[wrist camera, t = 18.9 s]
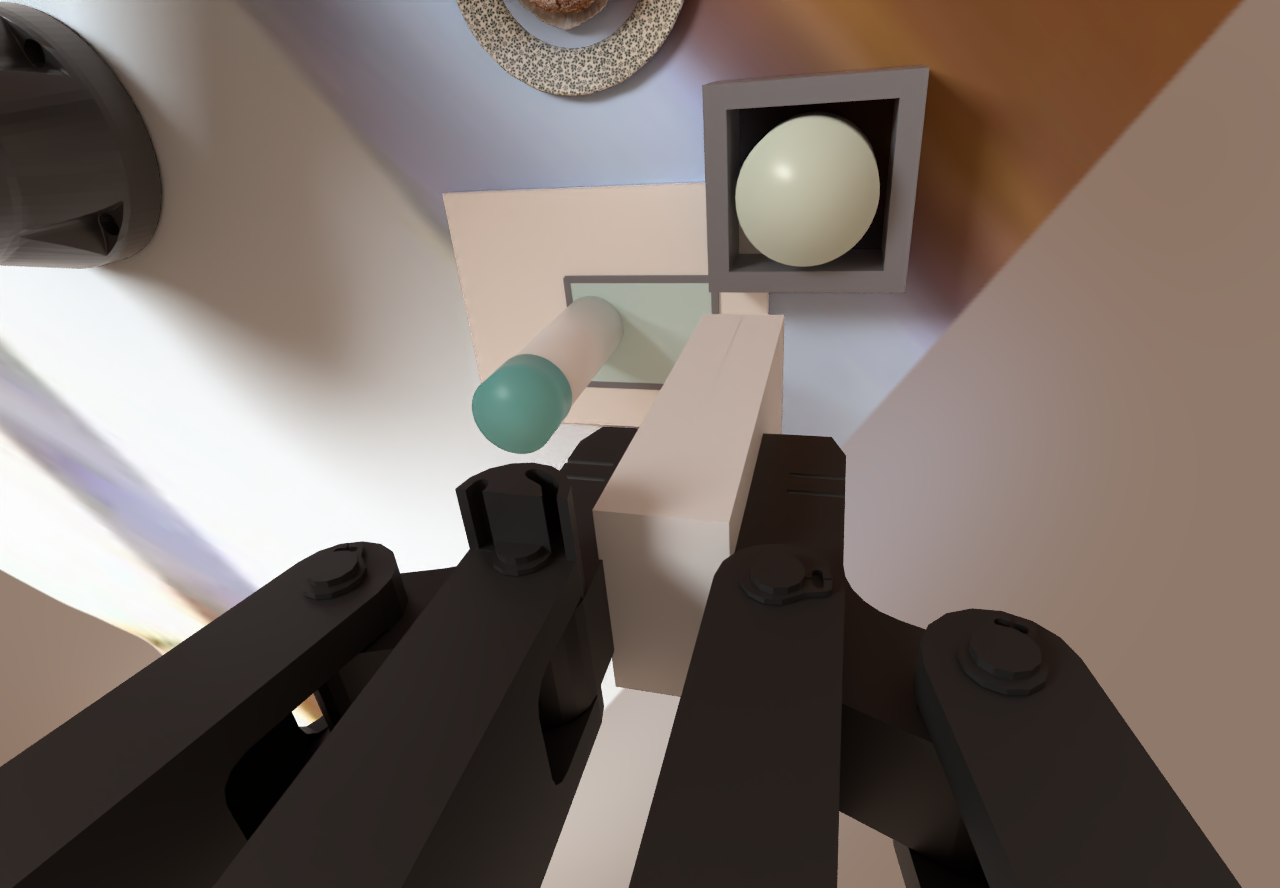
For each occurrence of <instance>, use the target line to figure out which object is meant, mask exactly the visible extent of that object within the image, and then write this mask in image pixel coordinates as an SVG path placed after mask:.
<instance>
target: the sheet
mask: <svg viewBox="0 0 1280 888" xmlns="http://www.w3.org/2000/svg"><path fill="white" fill-rule="evenodd" d="M442 195H443V200H444V205H445V210H446V215H447V220H448V225H449V230H450V234H451V239H452V244H453V249H454V254H455V259H456V264H457V268H458V273H459V278H460V283H461V288H462V293H463V298H464V302H465V307H466V312H467V317H468V322H469V327H470V332H471V337H472V341H473V346H474V351H475V356H476V361H477V366H478V371H479V375H480V380H481V384H482V383H483V382H484V381H485V380H486V379H487V378H488V377H489V376H490V375H492V374H493V373H494V372H495V371H496V370H497V369H498V368H499V367H500V366H501V365H502V364H503V363H505V362H506V361H507V360H508V359H510V358H512V357H514V356H515V355H516V354H518V353H519V352H520V351H521V350H522V349H523V348H524V347H525V346H526V345H527V344H528V343H529V342H530V341H532V340H533V339H534V338H535V337H536V336H537V335H538V334H539V333H540V332H541V331H542V330H543V329H544V328H546V327H547V326H548V325H549V324H550V323H551V322H552V321H553V320H554V319H555V318H556V317H557V316H558V315H560V314H561V313H562V312H563V311H564V310H565V309H566V308H567V307H568V306H569V305H570V304H571V303H573V302H574V301H575V300H577V299H578V298H581V297H585V296H596V297H600V298H602V299H605V300H606V301H608V302H609V303H611V304H612V305H613V306H614V307H615V308H616V309H617V311H618V312H619V314H620V316H621V318H622V321H623V327H624V332H623V338H622V340H621V342H620V344H619V345H618V347H617V348H616V349H615V351H614V352H613V353H612V355H611V356H610V357H609V358H608V360H607V361H606V362H605V364H604V365H603V366H602V368H601V369H600V370H599V371H598V373H597V374H596V375H595V377H594V378H593V379H592V381H591V382H590V383H589V384H588V386H587V387H586V388H585V390H584V391H583V392H582V393H581V395H580V396H579V397H578V399H577V400H576V401H575V403H574V404H573V405H572V406H571V409H570V411H569V413H568V415H567V416H566V418H565V419H564V420H563V423H580V424H598V425H616V426H634V427H640V425H641V423H642V422H643V420H644V418H645V416H646V415H647V413H648V411H649V409H650V408H651V406H652V404H653V402H654V401H655V399H656V397H657V395H658V393H659V392H660V390H661V388H662V386H663V385H664V383H665V381H666V379H667V378H668V376H669V374H670V372H671V371H672V369H673V367H674V365H675V363H676V362H677V360H678V358H679V356H680V355H681V353H682V351H683V349H684V348H685V346H686V344H687V342H688V341H689V339H690V337H691V335H692V333H693V332H694V330H695V328H696V326H697V325H698V323H699V321H700V319H701V318H702V316H703V314H748V315H769V293H735V292H709V283H708V250H707V218H706V185H705V182H693V183H669V184H644V185H619V186H595V187H570V188H545V189H521V190H496V191H471V192H447V193H445V194H442ZM739 254H762V253H761V252H760V251H759V250H758V249H756V248H755V247H754V245H753V244H752V243H751V242H750V241H749V239H748V238H747V236H746V235H745V233H744V231H743V229H742V227H741V225H740V222H739Z"/></svg>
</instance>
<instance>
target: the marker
mask: <svg viewBox="0 0 1280 888" xmlns="http://www.w3.org/2000/svg"><path fill="white" fill-rule="evenodd" d="M623 332H624V327H623V321H622V318H621V316H620V314H619V312H618V311H617V309H616V308H615V307H614V306H613V305H612V304H611V303H609V302H608V301H606V300H605V299H602V298H600V297H596V296H585V297H581V298H578V299H577V300H575V301H574V302H573V303H571V304H570V305H569V306H568V307H567V308H566V309H565V310H564V311H563V312H562V313H561V314H560V315H558V316H557V317H556V318H555V319H554V320H553V321H552V322H551V323H550V324H549V325H548V326H547V327H546V328H544V329H543V330H542V331H541V332H540V333H539V334H538V335H537V336H536V337H535V338H534V339H533V340H532V341H530V342H529V343H528V344H527V345H526V346H525V347H524V348H523V349H522V350H521V351H520V352H519V353H518V354H516V355H515V356H514V357H512V358H510V359H508V360H507V361H506V362H505V363H503V364H502V365H501V366H500V367H499V368H498V369H497V370H496V371H495V372H494V373H493V374H492V375H490V376H489V377H488V378H487V379H486V380H485V381H484V382H483V383H482V384H481V385H480V386H479V387H478V388H477V390H476V391H475V394H474V396H473V400H472V411H473V416H474V419H475V422H476V424H477V426H478V428H479V429H480V431H481V432H482V434H483V435H484V436H485V437H486V438H487V439H488V440H489V441H490V442H491V443H493V444H494V445H496V446H497V447H499V448H501V449H503V450H505V451H508V452H512V453H518V454H526V453H531V452H534V451H536V450H538V449H540V448H541V447H543V446H544V445H545V444H546V443H547V441H548V440H549V439H550V437H551V436H552V435H553V433H554V432H555V431H556V430H557V428H558V427H559V426H560V424H561V423H562V422H563V420H564V419H565V418H566V416H567V415H568V413H569V411H570V409H571V406H572V405H573V404H574V403H575V401H576V400H577V399H578V397H579V396H580V395H581V393H582V392H583V391H584V390H585V388H586V387H587V386H588V384H589V383H590V382H591V381H592V379H593V378H594V377H595V375H596V374H597V373H598V371H599V370H600V369H601V368H602V366H603V365H604V364H605V362H606V361H607V360H608V358H609V357H610V356H611V355H612V353H613V352H614V351H615V349H616V348H617V347H618V345H619V344H620V342H621V340H622V338H623Z"/></svg>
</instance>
